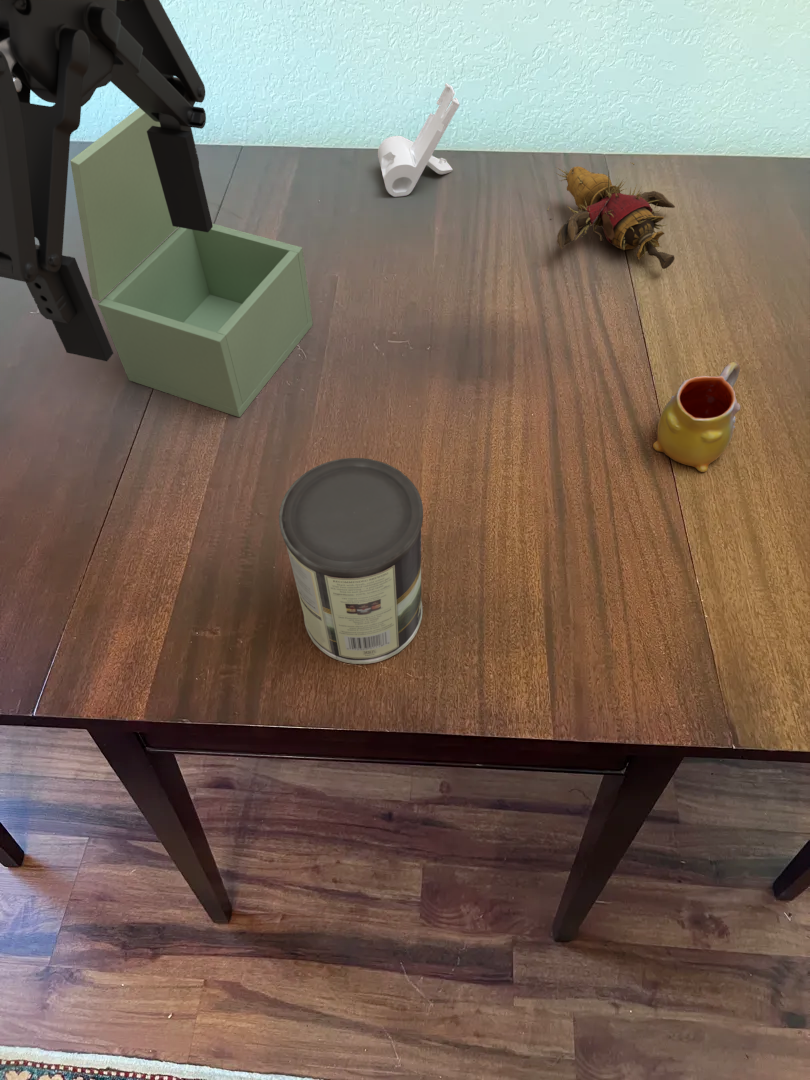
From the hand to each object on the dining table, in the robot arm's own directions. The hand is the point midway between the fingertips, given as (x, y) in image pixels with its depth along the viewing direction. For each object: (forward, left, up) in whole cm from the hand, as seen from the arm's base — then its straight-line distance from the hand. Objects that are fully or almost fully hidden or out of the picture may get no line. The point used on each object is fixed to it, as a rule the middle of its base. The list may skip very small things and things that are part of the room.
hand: (145, 285), depth 50 cm
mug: (+45, +16, -27) cm, 55 cm away
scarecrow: (+38, +48, -27) cm, 67 cm away
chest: (-6, +24, -27) cm, 37 cm away
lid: (-10, +26, -9) cm, 29 cm away
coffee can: (+13, -8, -27) cm, 31 cm away
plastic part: (+13, +60, -27) cm, 67 cm away
